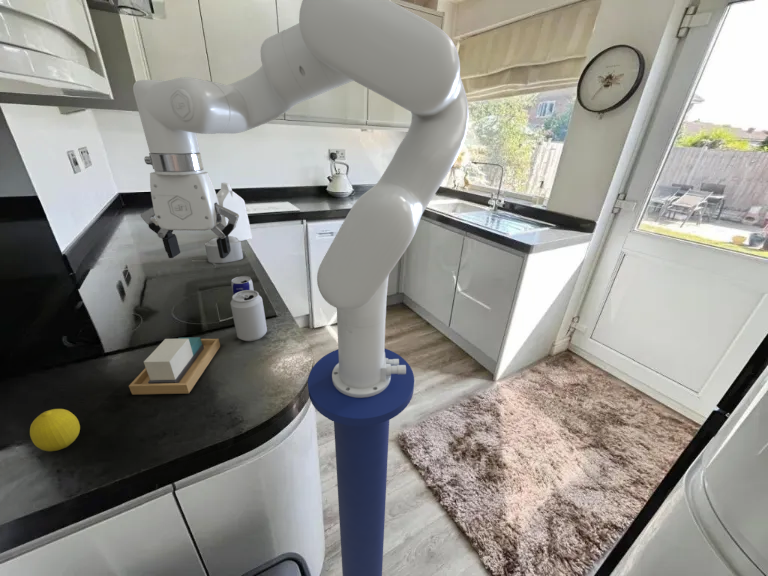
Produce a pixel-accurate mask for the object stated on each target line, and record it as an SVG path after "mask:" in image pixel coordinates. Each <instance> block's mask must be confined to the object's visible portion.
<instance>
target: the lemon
mask: <svg viewBox="0 0 768 576" xmlns="http://www.w3.org/2000/svg"><path fill="white" fill-rule="evenodd" d="M80 430H81V425H80V421H79V419H78V418H77V416H76V415H75V414H73V412H71V411H70V410H69V409H64V408H53V409H52V408H51V409H49V410H46V411H43V412H42V413H40V414H39V415H37V417H36V418H34V420H33V421H32V422H31V424H30V428H29V436H30V439H31V442H32V444H33V445H34V446H35V447H36V448H38V449H40V450H41V451H44V452H45V451H46V452H56V451H60V450H63V449H66V448H68V447H69V446H70V445H72V444H73V443H74V442H75V441H76V439H77V438H78V436H79V434H80Z"/></svg>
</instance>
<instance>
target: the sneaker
mask: <svg viewBox="0 0 768 576" xmlns="http://www.w3.org/2000/svg"><path fill="white" fill-rule="evenodd" d="M201 339H202V338H201V337H200V336H198V337H178V338H164V340H163V341H161V343H159V345H158V346H157V347H156V348H155V349H154V350H153V351H152V352H151V353H150V355H148V357H147V358H146V359H144V360H143V364H144V368H146V370H147V372H148V375H149V378H150V380H149V382H148V383H149V384H161V383H179V382H180V381H181V379H182V378H183V377H184V375H185V374H186V372H187V371H188V370H189V368H190V367H191V366H192V364H193V363H194V361H195V360H196V359H197V357H198V356H199V354H200V353H201V352H202V350H203V349H204V346H203V344H202V342H201Z"/></svg>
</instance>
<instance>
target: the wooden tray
mask: <svg viewBox="0 0 768 576" xmlns="http://www.w3.org/2000/svg"><path fill="white" fill-rule="evenodd" d="M201 342H202V344H203V346H204V349H203V350H202V352H201V353H200V354H199V356H198V357H197V359H196V360H195V361H194V363H193V364H192V366H191V367H190V368H189V370H188V371H187V372H186V374H185V375H184V377H183V378H182V379H181V381H180V382H179V383H161V384H149V383H148V382H149V380H150V378H149V375H148V372H147V370H146V367H144V369H143V370H142V371H141V372H140V373H139V374H138V375H137V376H136V377H135V378H134V380H133V381H131V383H130V384H129V385H128V388H129V390H130V393H131V395H174V394H179V395H180V394H182V395H183V394H190V392H191V391H192V390H193V389H194V387H195V385H196V384H197V382H198V381H199V379H200V378H201V376H202V375H203V373H204V372H205V370H206V369H207V368H208V366H209V364H210V362H211V361H212V360H213V358H214V357H215V355H216V354H217V352H218V351H219V349H220V348H221V344H220V339H219V338H201Z"/></svg>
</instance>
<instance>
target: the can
mask: <svg viewBox="0 0 768 576" xmlns="http://www.w3.org/2000/svg"><path fill="white" fill-rule="evenodd" d="M263 301H264V300H263V298H262V296H261V295H260V293H259V292H258V291H257V290H244V291H240V292H237V293H235V294H234V295H233V294H232V296H231V301H230V302H229V304H230V309H231V313H232V318H233V323H234V328H235V333H236V337H237V338H238V339H239V340H242V341H244V342H254V341H257V340H260V339H261V338H263V337H264V336H265V335H266V334H267V332H268V329H267V328H268V327H267V321H266V314H265V308H264V302H263Z"/></svg>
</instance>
